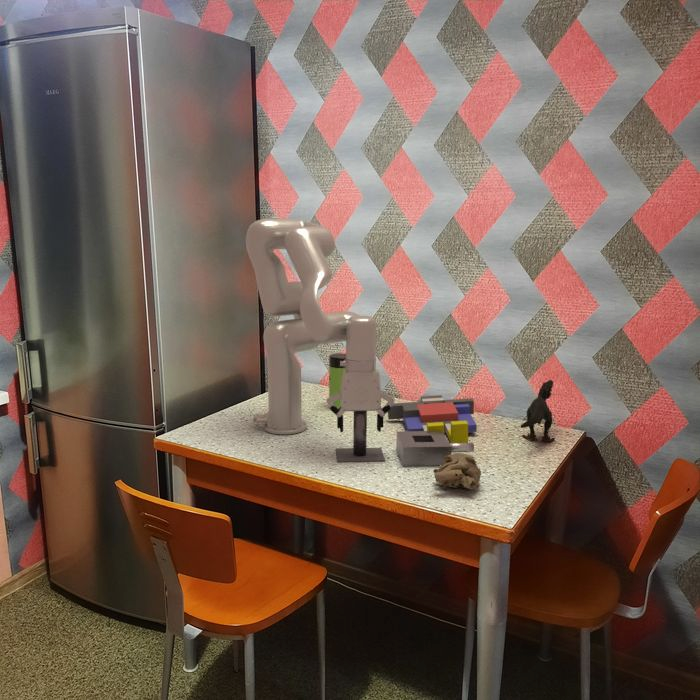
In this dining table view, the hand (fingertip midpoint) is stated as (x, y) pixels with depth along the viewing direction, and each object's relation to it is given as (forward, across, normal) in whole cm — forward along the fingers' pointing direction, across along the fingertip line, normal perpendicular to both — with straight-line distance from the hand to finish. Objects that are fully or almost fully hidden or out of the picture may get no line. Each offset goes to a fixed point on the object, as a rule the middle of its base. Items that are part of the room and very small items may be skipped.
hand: (360, 430), depth 164 cm
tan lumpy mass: (+7, +21, -20) cm, 30 cm away
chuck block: (+7, +19, -2) cm, 21 cm away
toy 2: (+7, +49, +8) cm, 50 cm away
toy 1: (+7, +23, +20) cm, 32 cm away
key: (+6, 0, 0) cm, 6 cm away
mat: (+7, 0, 0) cm, 7 cm away
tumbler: (+7, -3, +43) cm, 44 cm away
